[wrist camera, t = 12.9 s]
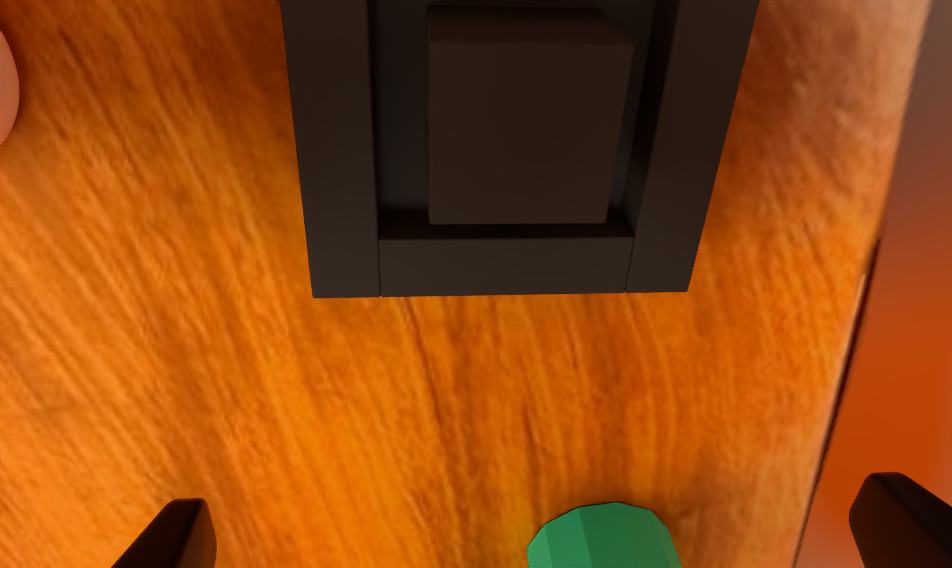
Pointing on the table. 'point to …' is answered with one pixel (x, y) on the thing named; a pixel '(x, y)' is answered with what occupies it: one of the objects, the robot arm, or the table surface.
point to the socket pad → (502, 245)
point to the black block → (522, 113)
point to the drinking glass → (7, 89)
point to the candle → (604, 540)
